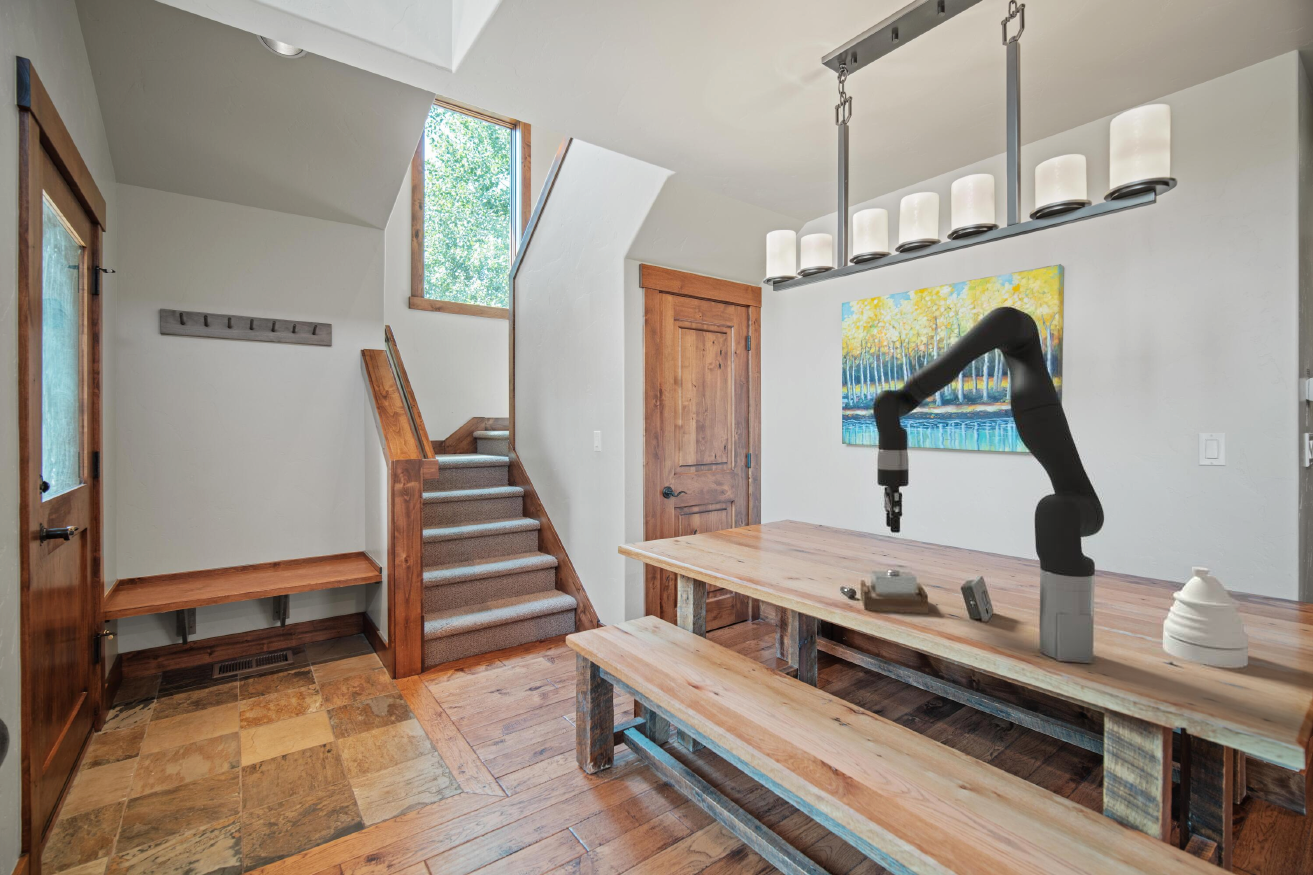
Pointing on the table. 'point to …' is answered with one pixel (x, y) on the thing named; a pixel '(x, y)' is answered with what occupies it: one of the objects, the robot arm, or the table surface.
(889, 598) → the brown wooden tray
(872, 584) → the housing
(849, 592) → the bolt
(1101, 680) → the table surface
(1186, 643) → the honey pot
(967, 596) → the electrical switch
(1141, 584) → the table surface
